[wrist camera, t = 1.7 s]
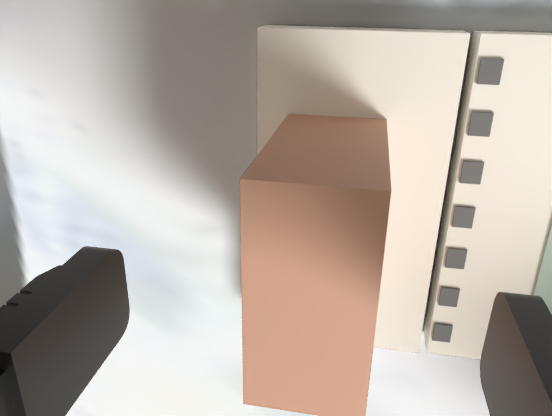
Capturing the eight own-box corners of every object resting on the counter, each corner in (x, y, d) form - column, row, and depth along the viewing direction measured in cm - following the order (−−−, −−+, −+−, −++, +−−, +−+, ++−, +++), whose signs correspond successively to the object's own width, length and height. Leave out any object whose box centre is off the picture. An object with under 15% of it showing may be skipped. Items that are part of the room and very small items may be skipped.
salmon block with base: (463, 30, 15) (530, 60, 8) (416, 333, 19) (435, 508, 13) (265, 24, 16) (185, 48, 9) (263, 313, 20) (209, 466, 14)
